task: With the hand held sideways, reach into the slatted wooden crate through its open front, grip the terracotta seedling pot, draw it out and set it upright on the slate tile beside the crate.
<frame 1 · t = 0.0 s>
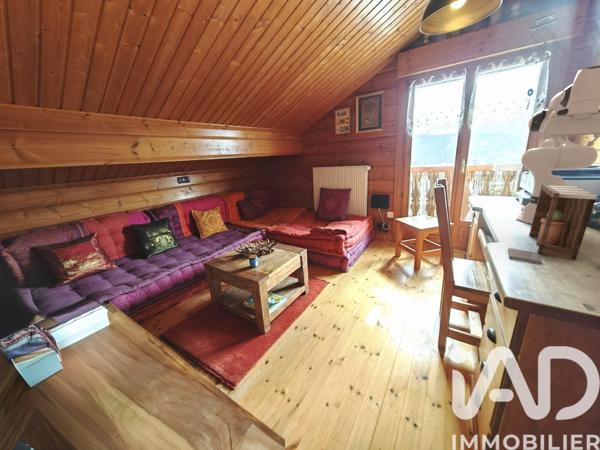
hand: (572, 146, 98), 39 cm above the table, tool pointing down, fingers open, 8 cm apart
terracotta pot: (546, 245, 97), resting in slatted wooden crate
slatted wooden crate: (546, 245, 97), on the table
slate tile: (523, 256, 88), on the table
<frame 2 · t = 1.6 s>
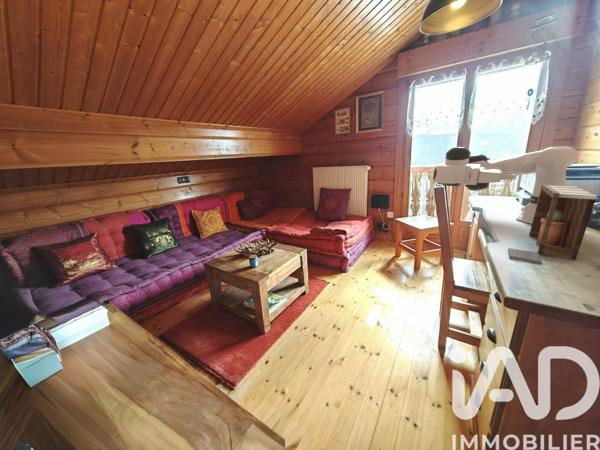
hand: (515, 175, 97), 28 cm above the table, tool horizontal, fingers open, 8 cm apart
nothing on the table moved.
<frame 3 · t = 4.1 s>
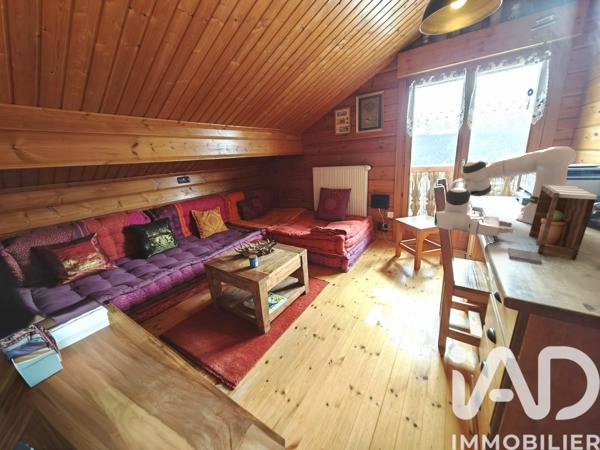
hand: (512, 227, 102), 6 cm above the table, tool horizontal, fingers open, 8 cm apart
nothing on the table moved.
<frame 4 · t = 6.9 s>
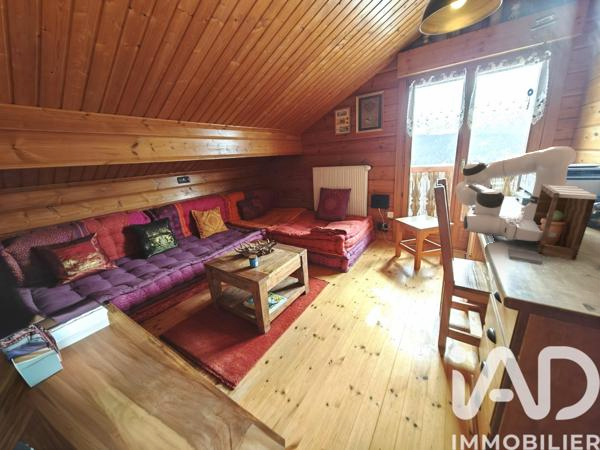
hand: (553, 232, 95), 6 cm above the table, tool horizontal, fingers closed on terracotta pot, 6 cm apart
terracotta pot: (546, 245, 97), resting in slatted wooden crate, touching gripper
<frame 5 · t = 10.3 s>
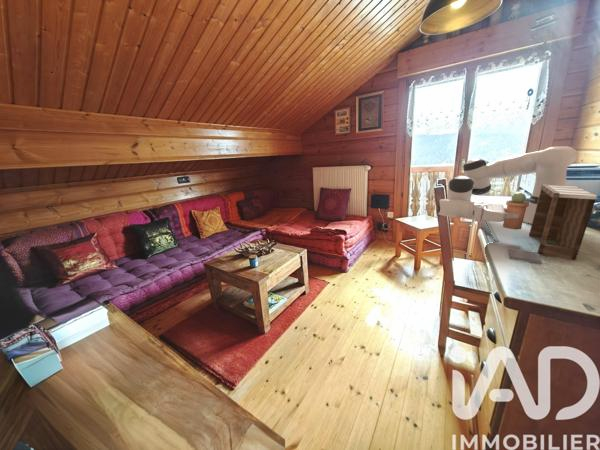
hand: (517, 213, 99), 12 cm above the table, tool horizontal, fingers closed on terracotta pot, 6 cm apart
terracotta pot: (511, 227, 102), point 6 cm above the table, touching gripper
when the fingers open (8 cm above the table, at t = 14.1 s): terracotta pot stays where it is, resting on slate tile.
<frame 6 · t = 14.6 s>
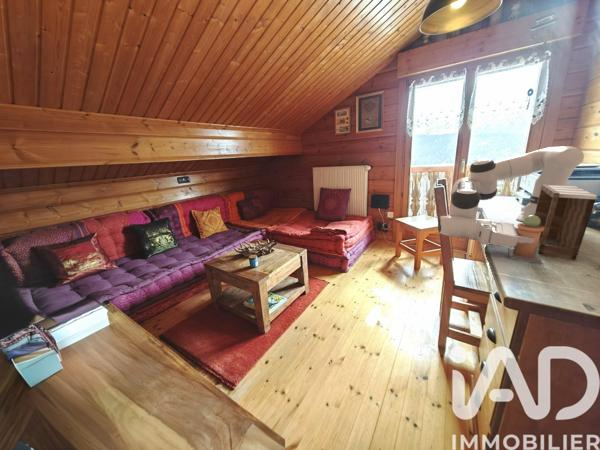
hand: (531, 236, 85), 8 cm above the table, tool horizontal, fingers open, 8 cm apart
terracotta pot: (523, 254, 88), point 1 cm above the table, touching slate tile
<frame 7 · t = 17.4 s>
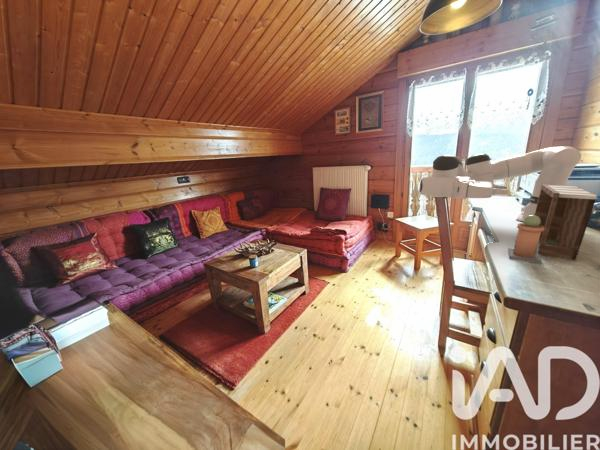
hand: (507, 190, 88), 24 cm above the table, tool horizontal, fingers open, 8 cm apart
nothing on the table moved.
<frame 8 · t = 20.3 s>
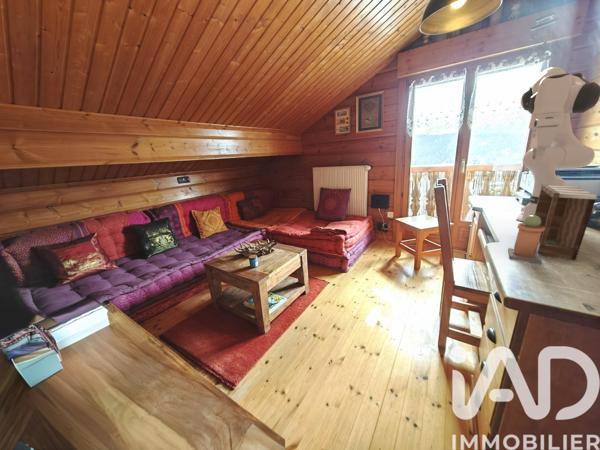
hand: (536, 160, 94), 34 cm above the table, tool pointing down, fingers open, 8 cm apart
nothing on the table moved.
at the end: terracotta pot inside the target area (0.1 cm from its centre), point 1.1 cm above the table; terracotta pot tilted 1°; the gripper is holding nothing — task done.
